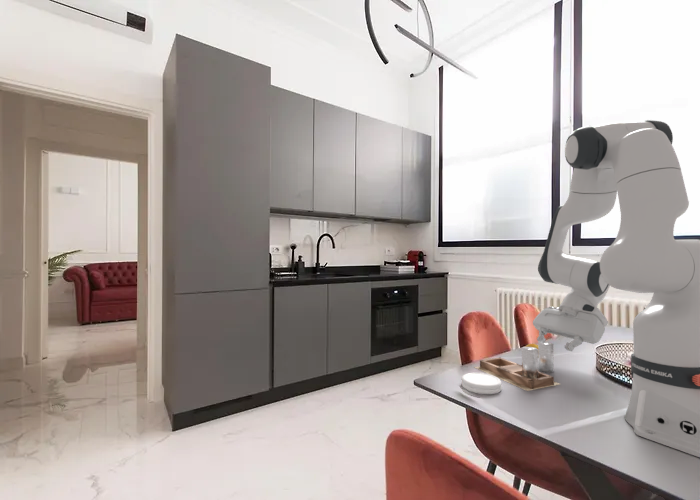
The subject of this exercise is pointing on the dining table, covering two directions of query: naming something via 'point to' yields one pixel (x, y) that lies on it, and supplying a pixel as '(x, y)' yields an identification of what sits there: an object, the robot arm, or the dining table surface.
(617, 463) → the dining table surface
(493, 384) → the coaster
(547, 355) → the glass pepper shaker
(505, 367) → the wooden compartment tray
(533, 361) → the seated billet
